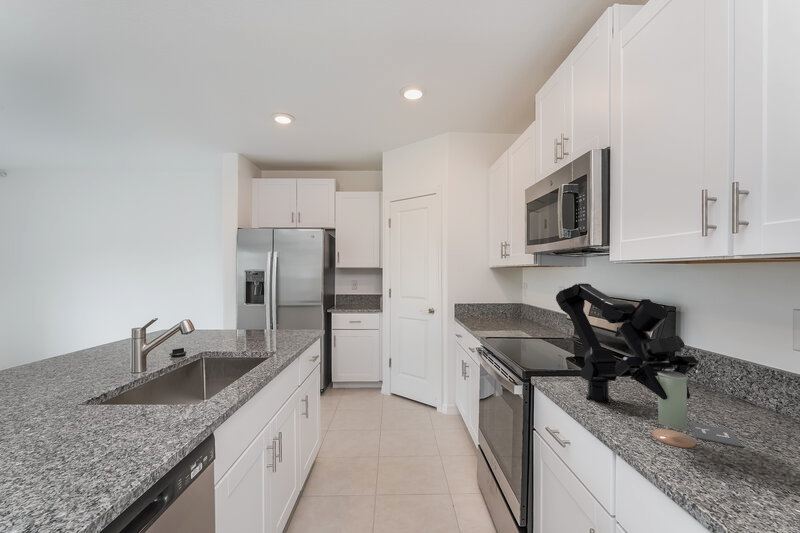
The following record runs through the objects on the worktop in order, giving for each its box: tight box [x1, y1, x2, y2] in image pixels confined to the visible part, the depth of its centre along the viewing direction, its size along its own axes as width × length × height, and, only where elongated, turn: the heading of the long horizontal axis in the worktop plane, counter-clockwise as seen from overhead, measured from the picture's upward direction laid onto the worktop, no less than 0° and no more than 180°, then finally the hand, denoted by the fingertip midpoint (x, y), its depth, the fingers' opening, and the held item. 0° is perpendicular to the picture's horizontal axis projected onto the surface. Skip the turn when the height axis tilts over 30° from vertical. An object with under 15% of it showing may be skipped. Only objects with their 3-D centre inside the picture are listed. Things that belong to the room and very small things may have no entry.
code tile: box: [688, 421, 743, 448], centre depth 83 cm, size 10×8×1 cm
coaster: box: [652, 428, 697, 449], centre depth 80 cm, size 8×8×1 cm
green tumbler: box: [656, 370, 688, 430], centre depth 81 cm, size 6×6×12 cm
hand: (677, 398), depth 79 cm, fingers closed on green tumbler, 5 cm apart
